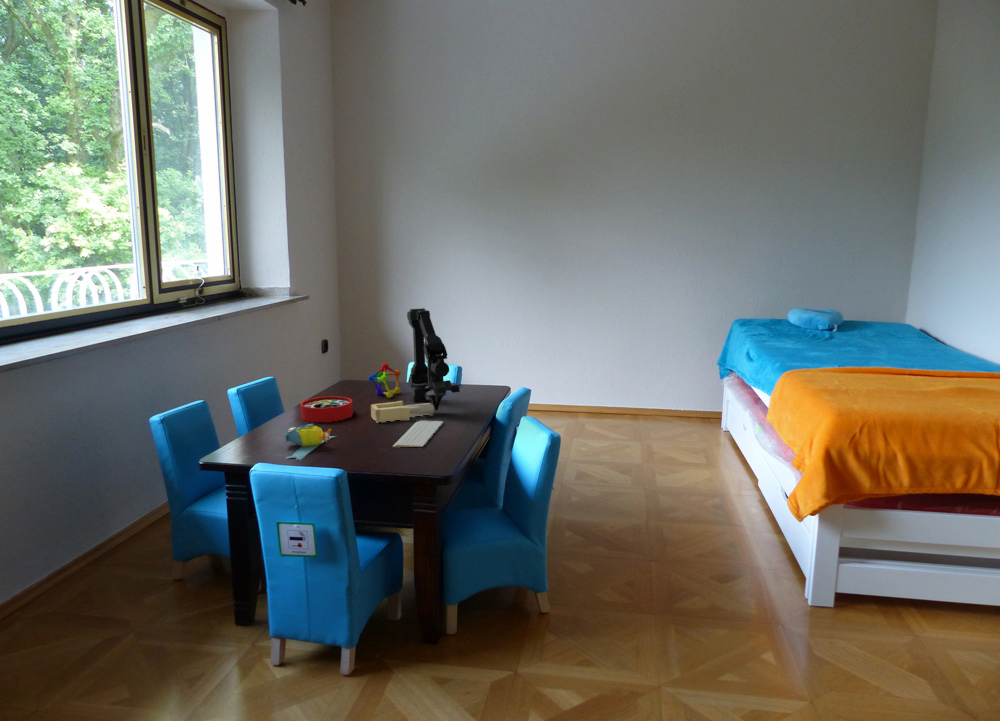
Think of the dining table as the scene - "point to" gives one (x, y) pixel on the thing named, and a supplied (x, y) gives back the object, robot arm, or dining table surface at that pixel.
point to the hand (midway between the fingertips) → (436, 410)
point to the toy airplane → (306, 438)
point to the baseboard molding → (418, 434)
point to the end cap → (389, 412)
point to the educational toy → (383, 378)
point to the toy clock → (326, 409)
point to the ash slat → (419, 409)
